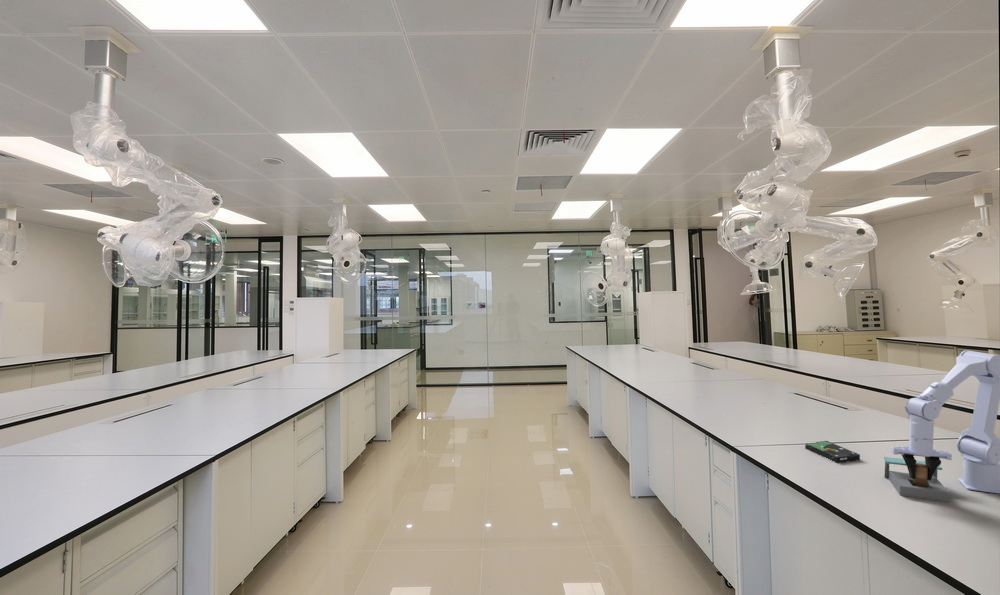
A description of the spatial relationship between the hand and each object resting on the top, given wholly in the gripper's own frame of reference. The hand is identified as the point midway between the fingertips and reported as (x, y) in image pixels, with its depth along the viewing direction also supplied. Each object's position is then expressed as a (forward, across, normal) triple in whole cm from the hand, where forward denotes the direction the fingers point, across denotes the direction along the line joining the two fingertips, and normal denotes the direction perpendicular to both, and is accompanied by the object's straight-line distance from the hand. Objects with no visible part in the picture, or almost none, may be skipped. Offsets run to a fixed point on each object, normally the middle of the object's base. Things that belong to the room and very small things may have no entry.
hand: (920, 478), depth 152 cm
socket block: (+5, 0, -2) cm, 5 cm away
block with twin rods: (+5, 0, -8) cm, 9 cm away
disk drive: (+6, +18, -27) cm, 33 cm away
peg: (+3, 0, 0) cm, 3 cm away
